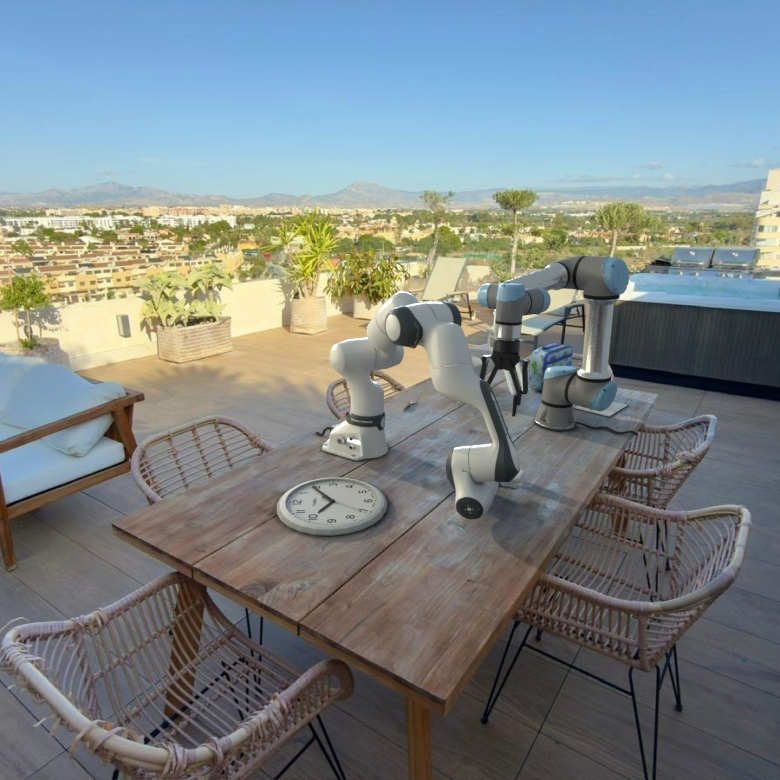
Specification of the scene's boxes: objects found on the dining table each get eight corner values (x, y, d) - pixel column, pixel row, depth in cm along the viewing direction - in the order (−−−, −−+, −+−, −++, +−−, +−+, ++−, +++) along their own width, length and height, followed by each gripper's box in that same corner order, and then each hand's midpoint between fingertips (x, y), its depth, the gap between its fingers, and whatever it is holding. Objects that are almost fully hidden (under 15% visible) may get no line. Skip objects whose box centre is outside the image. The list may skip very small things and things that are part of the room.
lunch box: (544, 395, 239) (549, 351, 233) (524, 390, 247) (528, 347, 240) (571, 384, 257) (577, 343, 251) (552, 380, 264) (556, 339, 258)
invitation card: (608, 416, 214) (573, 407, 224) (608, 416, 214) (573, 408, 224) (628, 404, 229) (594, 396, 238) (628, 405, 229) (594, 397, 238)
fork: (400, 411, 216) (400, 406, 215) (412, 399, 230) (412, 395, 230) (406, 412, 215) (406, 407, 215) (418, 400, 230) (418, 396, 229)
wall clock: (392, 527, 129) (268, 531, 127) (391, 533, 130) (269, 537, 127) (383, 473, 158) (282, 475, 155) (383, 478, 158) (282, 480, 156)
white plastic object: (461, 429, 252) (437, 405, 227) (444, 352, 274) (420, 323, 250) (535, 404, 240) (518, 377, 215) (510, 326, 262) (492, 293, 237)
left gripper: (522, 478, 139) (529, 458, 152) (448, 465, 147) (460, 446, 159) (520, 499, 141) (527, 478, 154) (447, 485, 149) (459, 465, 161)
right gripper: (544, 339, 150) (536, 414, 157) (475, 332, 157) (471, 404, 164) (541, 344, 143) (532, 422, 150) (469, 337, 151) (464, 411, 157)
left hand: (493, 462), depth 156 cm, fingers open, 8 cm apart
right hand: (500, 413), depth 157 cm, fingers open, 7 cm apart
